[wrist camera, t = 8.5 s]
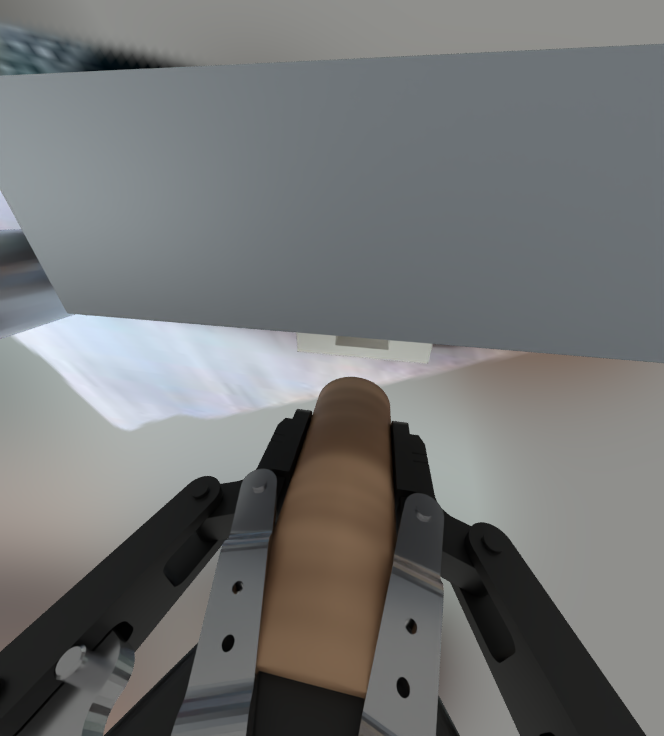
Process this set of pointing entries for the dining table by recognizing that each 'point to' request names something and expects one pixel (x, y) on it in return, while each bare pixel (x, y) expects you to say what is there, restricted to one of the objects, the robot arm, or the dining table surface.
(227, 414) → the dining table surface
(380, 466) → the peg
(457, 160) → the l-shaped bracket
